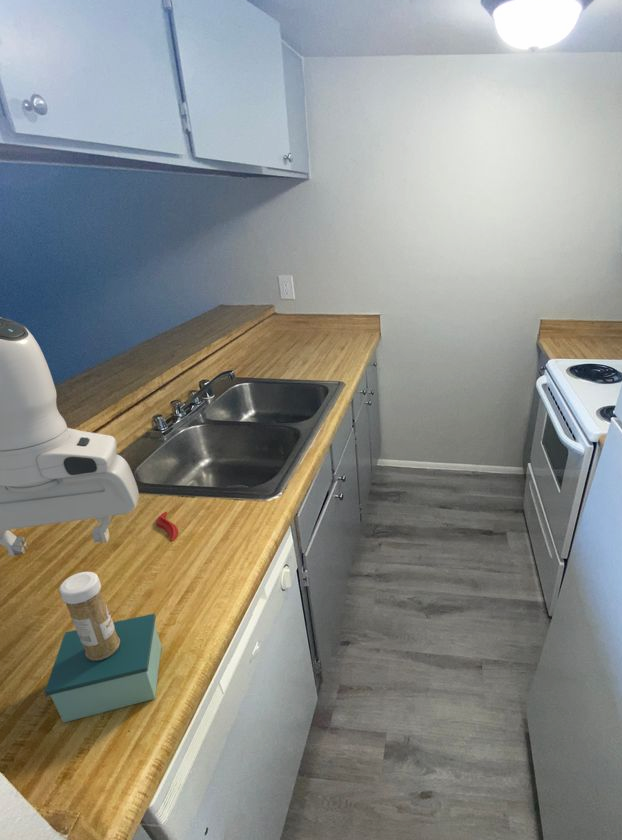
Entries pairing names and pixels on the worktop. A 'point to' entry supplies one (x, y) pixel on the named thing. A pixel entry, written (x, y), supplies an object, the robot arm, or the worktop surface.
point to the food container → (106, 671)
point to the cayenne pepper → (167, 526)
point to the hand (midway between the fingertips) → (62, 546)
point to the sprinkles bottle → (90, 615)
